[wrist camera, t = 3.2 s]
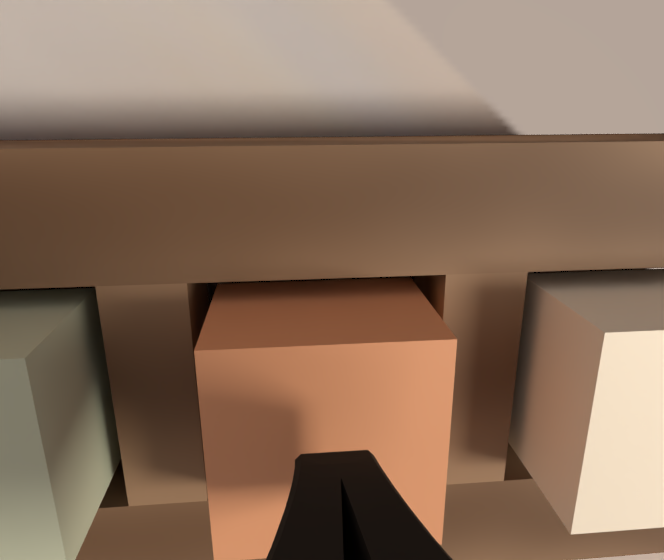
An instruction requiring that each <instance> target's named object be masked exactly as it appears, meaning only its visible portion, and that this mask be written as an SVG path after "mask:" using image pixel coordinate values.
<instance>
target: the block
mask: <svg viewBox="0 0 664 560" xmlns="http://www.w3.org/2000/svg"><path fill="white" fill-rule="evenodd" d="M120 460H121V453H120V446H119V440H118V433H117V426H116V420H115V413H114V407H113V400H112V394H111V387H110V381H109V374H108V367H107V361H106V354H105V348H104V341H103V335H102V328H101V322H100V315H99V309H98V302H97V295H96V289H95V288H79V289H50V290H20V291H0V560H75V559H76V557H77V555H78V553H79V550H80V548H81V546H82V544H83V542H84V539H85V537H86V535H87V533H88V530H89V528H90V526H91V524H92V522H93V519H94V517H95V515H96V513H97V510H98V508H99V506H100V504H101V502H102V499H103V497H104V495H105V493H106V491H107V488H108V486H109V484H110V482H111V479H112V477H113V475H114V473H115V471H116V468H117V466H118V464H119V462H120Z"/></svg>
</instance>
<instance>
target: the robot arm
mask: <svg viewBox="0 0 664 560" xmlns="http://www.w3.org/2000/svg"><path fill="white" fill-rule="evenodd" d="M266 560H453V559H452V558H451V557H450V556H449V555H448V554H447V553H446V551H445V550H444V549H443V548H442V547H441V546H440V544H439V543H438V542H437V541H436V540H435V539H434V537H433V536H432V535H431V534H430V532H429V531H428V530H427V529H426V527H425V526H424V525H423V524H422V522H421V521H420V520H419V519H418V517H417V516H416V515H415V514H414V512H413V511H412V510H411V509H410V507H409V506H408V505H407V503H406V502H405V501H404V499H403V498H402V497H401V495H400V494H399V492H398V491H397V490H396V488H395V487H394V485H393V484H392V483H391V481H390V480H389V478H388V477H387V475H386V474H385V472H384V471H383V469H382V468H381V466H380V465H379V463H378V461H377V460H376V458H375V456H374V455H373V454H372V453H371V452H370V451H369V450H356V451H340V452H323V453H307V454H300V455H299V456H298V457H297V458H296V459H295V469H294V475H293V481H292V485H291V489H290V493H289V496H288V500H287V503H286V507H285V510H284V513H283V516H282V518H281V521H280V524H279V527H278V530H277V532H276V535H275V538H274V541H273V543H272V546H271V548H270V551H269V553H268V556H267V558H266Z"/></svg>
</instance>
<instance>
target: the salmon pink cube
mask: <svg viewBox="0 0 664 560" xmlns="http://www.w3.org/2000/svg"><path fill="white" fill-rule="evenodd" d="M456 350H457V338H456V337H455V336H454V334H453V333H452V332H451V330H450V329H449V328H448V326H447V325H446V324H445V322H444V321H443V320H442V318H441V317H440V316H439V314H438V313H437V312H436V310H435V309H434V308H433V306H432V305H431V304H430V302H429V301H428V300H427V299H426V297H425V296H424V295H423V293H422V292H421V291H420V289H419V288H418V287H417V285H416V284H415V283H414V281H413V280H412V279H411V277H408V278H378V279H348V280H318V281H288V282H259V283H229V284H217V287H216V290H215V293H214V295H213V298H212V301H211V304H210V307H209V310H208V313H207V315H206V318H205V321H204V324H203V327H202V330H201V332H200V335H199V338H198V341H197V344H196V347H195V349H194V356H195V366H196V377H197V388H198V398H199V409H200V419H201V430H202V440H203V451H204V461H205V472H206V482H207V493H208V503H209V514H210V525H211V535H212V546H213V556H214V560H250V559H263V558H267V556H268V553H269V551H270V548H271V546H272V543H273V541H274V538H275V535H276V532H277V530H278V527H279V524H280V521H281V518H282V516H283V513H284V510H285V507H286V503H287V500H288V496H289V493H290V489H291V485H292V481H293V475H294V469H295V459H296V458H297V457H298V456H299V455H300V454H307V453H323V452H340V451H356V450H369V451H370V452H371V453H372V454H373V455H374V456H375V458H376V460H377V461H378V463H379V465H380V466H381V468H382V469H383V471H384V472H385V474H386V475H387V477H388V478H389V480H390V481H391V483H392V484H393V485H394V487H395V488H396V490H397V491H398V492H399V494H400V495H401V497H402V498H403V499H404V501H405V502H406V503H407V505H408V506H409V507H410V509H411V510H412V511H413V512H414V514H415V515H416V516H417V517H418V519H419V520H420V521H421V522H422V524H423V525H424V526H425V527H426V529H427V530H428V531H429V532H430V534H431V535H432V536H433V537H434V539H435V540H436V541H437V542H438V543H439V544H440V545H442V536H443V522H444V509H445V496H446V482H447V469H448V456H449V443H450V429H451V416H452V403H453V390H454V376H455V363H456Z"/></svg>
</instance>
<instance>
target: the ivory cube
mask: <svg viewBox="0 0 664 560" xmlns="http://www.w3.org/2000/svg"><path fill="white" fill-rule="evenodd" d="M508 443H509V444H510V445H511V447H512V448H513V450H514V451H515V453H516V454H517V456H518V457H519V459H520V460H521V462H522V463H523V465H524V466H525V468H526V469H527V471H528V472H529V474H530V475H531V477H532V478H533V479H534V481H535V482H536V484H537V485H538V487H539V488H540V490H541V491H542V493H543V494H544V496H545V497H546V499H547V500H548V502H549V503H550V505H551V506H552V508H553V509H554V511H555V512H556V514H557V515H558V516H559V518H560V519H561V521H562V522H563V524H564V525H565V527H566V528H567V530H568V531H569V533H570V534H584V533H597V532H610V531H623V530H636V529H649V528H662V527H664V269H647V270H617V271H587V272H557V273H528V275H527V284H526V292H525V301H524V310H523V318H522V327H521V336H520V344H519V353H518V362H517V370H516V379H515V387H514V396H513V405H512V413H511V422H510V431H509V439H508Z"/></svg>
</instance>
